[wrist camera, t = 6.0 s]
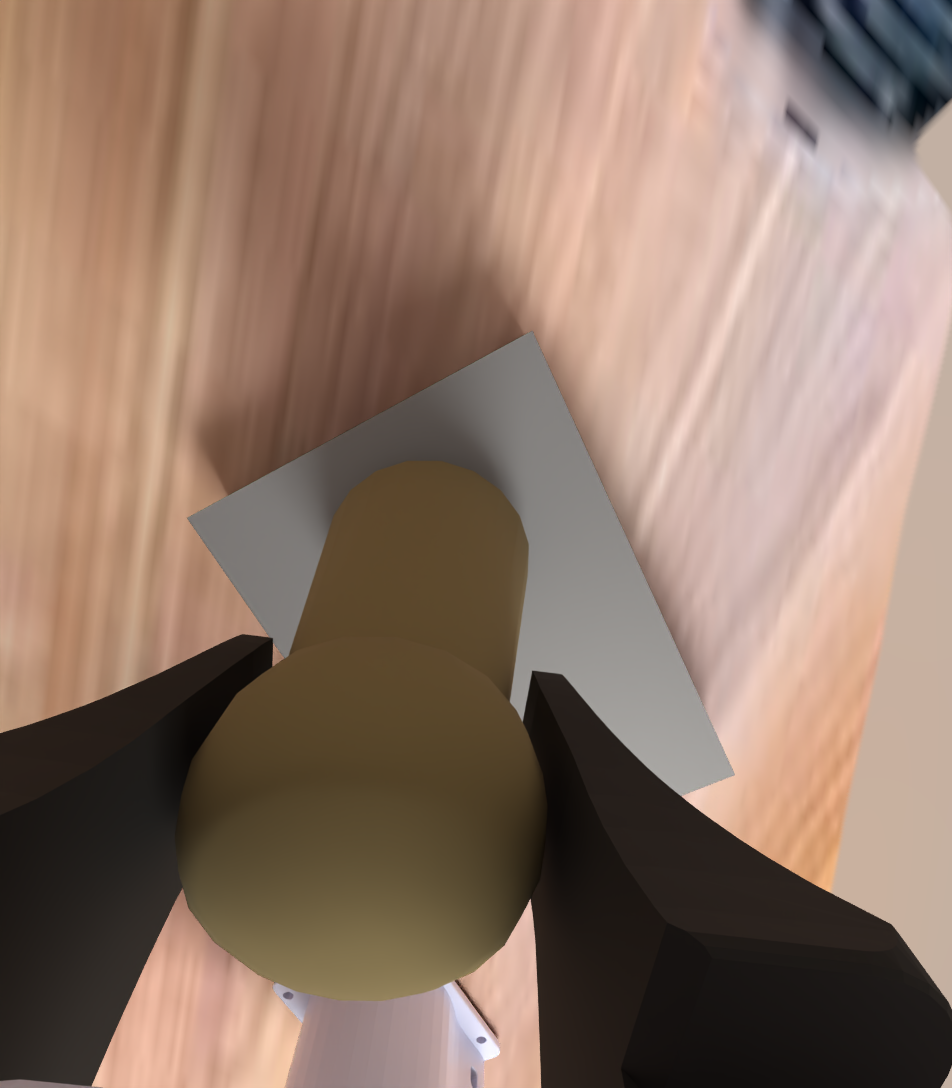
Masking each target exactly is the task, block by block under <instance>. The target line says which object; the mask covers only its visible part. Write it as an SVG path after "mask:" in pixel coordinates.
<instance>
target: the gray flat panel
mask: <svg viewBox="0 0 952 1088" xmlns="http://www.w3.org/2000/svg"><path fill="white" fill-rule="evenodd" d="M405 461H443V462H447V463H450V464H453V465H456V466H459V467H462V468H466V469H469V470H472V471H474V472H476V473H477V474H479V475H480V476H481V477H483V478H484V479H486V480H487V481H489V482H490V483H491V484H493V485H494V486H496V487H497V488H498V489H500V490H501V491H502V492H503V494H504V495H505V496H506V498H507V499H508V501H509V502H510V503H511V505H512V506H513V507H514V509H515V510H516V511H517V513H518V514H519V515H520V518H521V521H522V524H523V527H524V531H525V534H526V537H527V540H528V543H529V557H528V577H527V584H526V591H525V598H524V605H523V612H522V620H521V627H520V634H519V641H518V648H517V655H516V662H515V670H514V677H513V684H512V691H511V698H510V703H511V704H512V705H513V707H514V708H515V709H516V710H517V712H518V714H519V716H520V718H521V720H522V722H523V717H524V712H525V706H526V701H527V696H528V690H529V685H530V680H531V674H532V670H533V671H541V672H549V673H557V674H562V675H563V676H564V677H565V678H566V679H567V680H568V681H569V682H570V684H571V685H572V686H573V687H574V688H575V690H576V691H577V692H578V693H579V694H580V696H581V697H582V698H583V699H584V700H585V702H586V703H587V704H588V705H589V706H590V708H591V709H592V710H593V711H594V712H595V713H596V715H597V716H598V717H599V718H600V719H601V720H602V721H603V722H604V724H605V725H606V726H607V727H608V728H609V729H610V730H611V731H612V732H613V733H614V735H615V736H616V737H617V738H618V739H619V740H620V741H621V742H622V743H623V744H624V745H625V746H626V747H627V748H628V749H629V750H630V751H631V752H632V753H633V754H634V755H635V756H636V757H637V758H638V759H639V760H640V761H641V762H642V763H643V764H644V765H645V766H646V767H647V768H649V769H650V770H651V771H652V772H653V773H654V774H655V775H656V776H657V777H659V778H660V779H661V780H662V781H663V782H664V783H666V784H667V785H668V786H669V787H670V788H672V789H673V790H674V791H675V792H676V793H678V794H679V795H680V796H682V795H685V794H687V793H690V792H693V791H695V790H698V789H700V788H703V787H705V786H708V785H711V784H713V783H716V782H718V781H721V780H723V779H726V778H729V777H731V776H734V775H735V774H734V771H733V769H732V767H731V765H730V763H729V761H728V758H727V756H726V754H725V752H724V750H723V747H722V745H721V743H720V741H719V739H718V736H717V734H716V732H715V730H714V728H713V725H712V723H711V721H710V719H709V717H708V715H707V712H706V710H705V708H704V706H703V704H702V701H701V699H700V697H699V695H698V693H697V690H696V688H695V686H694V684H693V682H692V679H691V677H690V675H689V673H688V671H687V669H686V666H685V664H684V662H683V660H682V658H681V655H680V653H679V651H678V649H677V647H676V644H675V642H674V640H673V638H672V636H671V633H670V631H669V629H668V627H667V625H666V623H665V620H664V618H663V616H662V614H661V612H660V609H659V607H658V605H657V603H656V601H655V598H654V596H653V594H652V592H651V590H650V587H649V585H648V583H647V581H646V579H645V576H644V574H643V572H642V570H641V568H640V566H639V563H638V561H637V559H636V557H635V555H634V552H633V550H632V548H631V546H630V544H629V541H628V539H627V537H626V535H625V533H624V530H623V528H622V526H621V524H620V522H619V520H618V517H617V515H616V513H615V511H614V509H613V506H612V504H611V502H610V500H609V498H608V495H607V493H606V491H605V489H604V487H603V484H602V482H601V480H600V478H599V476H598V474H597V471H596V469H595V467H594V465H593V463H592V460H591V458H590V456H589V454H588V452H587V449H586V447H585V445H584V443H583V441H582V438H581V436H580V434H579V432H578V430H577V427H576V425H575V423H574V421H573V419H572V417H571V414H570V412H569V410H568V408H567V406H566V403H565V401H564V399H563V397H562V395H561V392H560V390H559V388H558V386H557V384H556V381H555V379H554V377H553V375H552V373H551V371H550V368H549V366H548V364H547V362H546V360H545V357H544V355H543V353H542V351H541V349H540V346H539V344H538V342H537V340H536V338H535V335H534V333H533V331H531V332H529V333H527V334H525V335H523V336H522V337H520V338H518V339H516V340H514V341H512V342H510V343H509V344H507V345H505V346H503V347H501V348H499V349H498V350H496V351H494V352H492V353H490V354H488V355H487V356H485V357H483V358H481V359H479V360H477V361H475V362H474V363H472V364H470V365H468V366H466V367H464V368H463V369H461V370H459V371H457V372H455V373H453V374H451V375H450V376H448V377H446V378H444V379H442V380H440V381H439V382H437V383H435V384H433V385H431V386H429V387H428V388H426V389H424V390H422V391H420V392H418V393H416V394H415V395H413V396H411V397H409V398H407V399H405V400H404V401H402V402H400V403H398V404H396V405H394V406H393V407H391V408H389V409H387V410H385V411H383V412H381V413H380V414H378V415H376V416H374V417H372V418H370V419H369V420H367V421H365V422H363V423H361V424H359V425H357V426H356V427H354V428H352V429H350V430H348V431H346V432H345V433H343V434H341V435H339V436H337V437H335V438H334V439H332V440H330V441H328V442H326V443H324V444H322V445H321V446H319V447H317V448H315V449H313V450H311V451H310V452H308V453H306V454H304V455H302V456H300V457H298V458H297V459H295V460H293V461H291V462H289V463H287V464H286V465H284V466H282V467H280V468H278V469H276V470H275V471H273V472H271V473H269V474H267V475H265V476H263V477H262V478H260V479H258V480H256V481H254V482H252V483H251V484H249V485H247V486H245V487H243V488H241V489H239V490H238V491H236V492H234V493H232V494H230V495H228V496H227V497H225V498H223V499H221V500H219V501H217V502H216V503H214V504H212V505H210V506H208V507H206V508H204V509H203V510H201V511H199V512H197V513H195V514H193V515H192V516H190V517H188V518H187V519H188V520H189V522H190V523H191V525H192V526H193V527H194V529H195V530H196V532H197V533H198V535H199V536H200V538H201V539H202V540H203V542H204V543H205V545H206V546H207V548H208V549H209V551H210V552H211V553H212V555H213V556H214V558H215V559H216V561H217V562H218V563H219V565H220V566H221V568H222V569H223V571H224V572H225V574H226V575H227V576H228V578H229V579H230V581H231V582H232V584H233V585H234V587H235V588H236V589H237V591H238V592H239V594H240V595H241V597H242V598H243V600H244V601H245V602H246V604H247V605H248V607H249V608H250V610H251V611H252V613H253V614H254V615H255V617H256V618H257V620H258V621H259V623H260V624H261V625H262V627H263V628H264V630H265V631H266V633H267V634H268V636H269V637H270V638H273V643H274V644H275V646H276V647H277V649H278V650H279V651H280V653H281V654H282V656H283V657H284V659H285V658H286V657H288V656H289V652H290V649H291V646H292V643H293V640H294V637H295V634H296V631H297V628H298V625H299V621H300V618H301V615H302V612H303V609H304V606H305V603H306V600H307V597H308V594H309V590H310V587H311V584H312V581H313V578H314V575H315V572H316V569H317V566H318V563H319V559H320V556H321V553H322V550H323V547H324V544H325V541H326V538H327V535H328V532H329V528H330V525H331V522H332V519H333V516H334V514H335V513H336V511H337V510H338V508H339V507H340V505H341V504H342V502H343V501H344V499H345V498H346V496H347V495H348V493H349V492H350V490H351V489H353V488H354V487H355V486H357V485H358V484H359V483H361V482H362V481H363V480H365V479H366V478H367V477H369V476H370V475H371V474H373V473H374V472H375V471H378V470H381V469H384V468H387V467H390V466H393V465H396V464H399V463H402V462H405Z"/></svg>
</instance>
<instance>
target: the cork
mask: <svg viewBox="0 0 952 1088" xmlns="http://www.w3.org/2000/svg"><path fill="white" fill-rule="evenodd" d="M528 557H529V543H528V540H527V537H526V534H525V531H524V527H523V524H522V521H521V518H520V515H519V514H518V513H517V511H516V510H515V509H514V507H513V506H512V505H511V503H510V502H509V501H508V499H507V498H506V496H505V495H504V494H503V492H502V491H501V490H500V489H498V488H497V487H496V486H494V485H493V484H491V483H490V482H489V481H487V480H486V479H484V478H483V477H481V476H480V475H479V474H477V473H476V472H474V471H472V470H469V469H466V468H462V467H459V466H456V465H453V464H450V463H447V462H443V461H405V462H402V463H399V464H396V465H393V466H390V467H387V468H384V469H381V470H378V471H375V472H374V473H373V474H371V475H370V476H369V477H367V478H366V479H365V480H363V481H362V482H361V483H359V484H358V485H357V486H355V487H354V488H353V489H351V490H350V492H349V493H348V495H347V496H346V498H345V499H344V501H343V502H342V504H341V505H340V507H339V508H338V510H337V511H336V513H335V514H334V516H333V519H332V522H331V525H330V528H329V532H328V535H327V538H326V541H325V544H324V547H323V550H322V553H321V556H320V559H319V563H318V566H317V569H316V572H315V575H314V578H313V581H312V584H311V587H310V590H309V594H308V597H307V600H306V603H305V606H304V609H303V612H302V615H301V618H300V621H299V625H298V628H297V631H296V634H295V637H294V640H293V643H292V646H291V649H290V652H289V656H288V657H286V658H285V659H283V660H282V661H280V662H279V663H278V664H276V665H275V666H273V667H272V668H270V669H269V670H267V671H266V672H264V673H263V674H261V675H260V676H259V677H257V678H256V679H255V680H254V681H252V682H251V683H250V684H248V685H247V686H246V687H245V688H243V689H242V690H241V691H239V692H238V693H237V694H236V695H235V697H234V698H233V700H232V701H231V703H230V704H229V706H228V707H227V709H226V710H225V712H224V713H223V714H222V716H221V717H220V719H219V720H218V722H217V723H216V725H215V726H214V728H213V729H212V731H211V732H210V734H209V735H208V736H207V738H206V739H205V741H204V742H203V744H202V745H201V747H200V748H199V750H198V751H197V753H196V754H195V756H194V757H193V759H192V760H191V764H190V767H189V771H188V774H187V777H186V781H185V784H184V787H183V791H182V794H181V800H180V806H179V812H178V818H177V824H176V831H175V845H176V855H177V864H178V872H179V876H180V879H181V883H182V886H183V890H184V893H185V897H186V900H187V904H188V907H189V909H190V911H191V912H192V913H193V915H194V916H195V917H196V919H197V920H198V921H199V923H200V924H201V925H202V927H203V928H204V929H205V931H206V932H207V933H208V935H209V936H210V937H211V939H212V940H213V941H214V942H215V943H216V944H218V945H219V946H220V947H222V948H223V949H224V950H226V951H227V952H228V953H230V954H231V955H232V956H234V957H235V958H236V959H238V960H239V961H240V962H242V963H243V964H244V965H246V966H247V967H248V968H250V969H251V970H252V971H254V972H255V973H256V974H258V975H260V976H262V977H264V978H267V979H269V980H271V981H273V982H276V983H278V984H280V985H283V986H285V987H287V988H290V989H292V990H294V991H296V992H301V993H306V994H310V995H315V996H320V997H325V998H329V999H334V1000H339V1001H385V1000H390V999H395V998H401V997H406V996H411V995H416V994H421V993H425V992H428V991H432V990H435V989H437V988H439V987H442V986H444V985H446V984H448V983H450V982H453V981H455V980H457V979H459V978H461V977H464V976H466V975H468V974H470V973H472V972H474V971H476V970H477V969H478V968H479V967H480V966H481V965H482V964H484V963H485V962H486V961H487V960H488V959H489V958H490V957H492V956H493V955H494V954H495V953H496V952H497V951H498V950H500V949H501V948H502V947H503V946H504V945H505V943H506V942H507V940H508V938H509V936H510V935H511V933H512V931H513V930H514V928H515V926H516V924H517V923H518V921H519V919H520V918H521V916H522V914H523V912H524V910H525V908H526V906H527V904H528V902H529V900H530V898H531V896H532V895H533V893H534V891H535V889H536V887H537V885H538V883H539V881H540V875H541V869H542V863H543V857H544V851H545V840H546V823H547V806H548V805H547V799H546V792H545V785H544V778H543V773H542V770H541V768H540V765H539V762H538V759H537V757H536V754H535V751H534V748H533V746H532V743H531V740H530V738H529V735H528V732H527V730H526V728H525V726H524V724H523V722H522V720H521V718H520V716H519V714H518V712H517V710H516V709H515V708H514V707H513V705H512V704H511V703H510V698H511V691H512V684H513V677H514V670H515V662H516V655H517V648H518V641H519V634H520V627H521V620H522V612H523V605H524V598H525V591H526V584H527V577H528Z"/></svg>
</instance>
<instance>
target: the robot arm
mask: <svg viewBox="0 0 952 1088" xmlns="http://www.w3.org/2000/svg"><path fill="white" fill-rule="evenodd" d="M272 660H273V638H268V637H260V636H252V635H244V634H242V635H239V636H237V637H234V638H232V639H229V640H227V641H225V642H223V643H221V644H219V645H217V646H215V647H213V648H211V649H208V650H206V651H204V652H202V653H200V654H198V655H196V656H194V657H192V658H190V659H188V660H186V661H184V662H182V663H180V664H178V665H176V666H174V667H172V668H170V669H168V670H166V671H163V672H161V673H159V674H157V675H155V676H153V677H150V678H148V679H146V680H144V681H141V682H139V683H137V684H134V685H132V686H130V687H128V688H125V689H123V690H121V691H119V692H116V693H114V694H112V695H109V696H107V697H105V698H102V699H100V700H97V701H95V702H92V703H90V704H87V705H84V706H82V707H79V708H76V709H74V710H71V711H68V712H65V713H62V714H60V715H57V716H54V717H51V718H48V719H45V720H42V721H39V722H36V723H33V724H30V725H27V726H24V727H20V728H17V729H13V730H10V731H6V732H3V733H0V1088H101V1087H91V1086H92V1083H93V1081H94V1079H95V1076H96V1074H97V1072H98V1070H99V1067H100V1065H101V1063H102V1060H103V1058H104V1056H105V1053H106V1051H107V1049H108V1046H109V1044H110V1042H111V1039H112V1037H113V1035H114V1032H115V1030H116V1028H117V1025H118V1023H119V1021H120V1019H121V1017H122V1014H123V1012H124V1010H125V1008H126V1006H127V1003H128V1001H129V999H130V997H131V995H132V992H133V990H134V988H135V986H136V984H137V981H138V979H139V977H140V975H141V973H142V970H143V968H144V966H145V964H146V962H147V959H148V957H149V955H150V953H151V951H152V949H153V947H154V945H155V943H156V940H157V938H158V936H159V934H160V932H161V930H162V928H163V926H164V924H165V922H166V919H167V917H168V915H169V913H170V911H171V909H172V907H173V905H174V903H175V901H176V899H177V897H178V895H179V893H180V891H181V890H182V888H183V886H182V883H181V879H180V876H179V872H178V864H177V855H176V845H175V831H176V824H177V818H178V812H179V806H180V800H181V794H182V791H183V787H184V784H185V781H186V777H187V774H188V771H189V767H190V764H191V760H192V759H193V757H194V756H195V754H196V753H197V751H198V750H199V748H200V747H201V745H202V744H203V742H204V741H205V739H206V738H207V736H208V735H209V734H210V732H211V731H212V729H213V728H214V726H215V725H216V723H217V722H218V720H219V719H220V717H221V716H222V714H223V713H224V712H225V710H226V709H227V707H228V706H229V704H230V703H231V701H232V700H233V698H234V697H235V695H236V694H237V693H238V692H239V691H241V690H242V689H243V688H245V687H246V686H247V685H248V684H250V683H251V682H252V681H254V680H255V679H256V678H257V677H259V676H260V675H261V674H263V673H264V672H266V671H267V670H269V669H270V668H272ZM523 724H524V726H525V728H526V730H527V732H528V735H529V738H530V740H531V743H532V746H533V748H534V751H535V754H536V757H537V759H538V762H539V765H540V768H541V770H542V773H543V778H544V785H545V792H546V799H547V805H548V806H547V823H546V840H545V851H544V857H543V863H542V869H541V875H540V881H539V883H538V885H537V887H536V889H535V891H534V893H533V895H532V896H531V905H532V912H533V921H534V931H535V942H536V962H537V984H538V1006H539V1033H540V1061H541V1088H941V1086H942V1084H943V1083H944V1081H945V1079H946V1078H947V1076H948V1074H949V1071H950V1069H951V1066H952V1009H951V1007H950V1005H949V1002H948V1001H947V999H946V998H945V997H944V995H943V994H942V993H941V991H940V990H939V988H938V987H937V986H936V984H935V983H934V982H933V980H932V979H931V977H930V976H929V975H928V973H927V972H926V971H925V969H924V968H923V966H922V965H921V964H920V962H919V961H918V960H917V958H916V957H915V955H914V954H913V953H912V951H911V950H910V949H909V947H908V946H907V944H906V943H905V942H904V940H903V939H902V938H901V936H900V935H899V933H898V932H897V931H896V930H895V928H894V927H893V926H892V925H891V924H890V923H888V922H886V921H884V920H882V919H880V918H878V917H876V916H874V915H872V914H870V913H868V912H866V911H864V910H862V909H860V908H858V907H857V906H855V905H853V904H851V903H849V902H847V901H845V900H843V899H841V898H839V897H837V896H835V895H833V894H831V893H829V892H827V891H825V890H824V889H822V888H820V887H818V886H816V885H814V884H812V883H810V882H809V881H807V880H805V879H803V878H802V877H800V876H798V875H797V874H795V873H793V872H792V871H790V870H788V869H786V868H785V867H783V866H781V865H780V864H778V863H776V862H775V861H773V860H771V859H770V858H768V857H766V856H765V855H763V854H762V853H760V852H758V851H757V850H755V849H754V848H752V847H751V846H749V845H747V844H746V843H744V842H743V841H741V840H740V839H738V838H737V837H735V836H734V835H733V834H731V833H730V832H728V831H727V830H725V829H724V828H723V827H721V826H720V825H718V824H717V823H716V822H714V821H713V820H711V819H710V818H708V817H707V816H706V815H704V814H703V813H702V812H700V811H699V810H698V809H696V808H695V807H694V806H692V805H691V804H690V803H689V802H687V801H686V800H685V799H684V798H682V797H681V796H680V795H679V794H678V793H676V792H675V791H674V790H673V789H672V788H670V787H669V786H668V785H667V784H666V783H664V782H663V781H662V780H661V779H660V778H659V777H657V776H656V775H655V774H654V773H653V772H652V771H651V770H650V769H649V768H647V767H646V766H645V765H644V764H643V763H642V762H641V761H640V760H639V759H638V758H637V757H636V756H635V755H634V754H633V753H632V752H631V751H630V750H629V749H628V748H627V747H626V746H625V745H624V744H623V743H622V742H621V741H620V740H619V739H618V738H617V737H616V736H615V735H614V733H613V732H612V731H611V730H610V729H609V728H608V727H607V726H606V725H605V724H604V722H603V721H602V720H601V719H600V718H599V717H598V716H597V715H596V713H595V712H594V711H593V710H592V709H591V708H590V706H589V705H588V704H587V703H586V702H585V700H584V699H583V698H582V697H581V696H580V694H579V693H578V692H577V691H576V690H575V688H574V687H573V686H572V685H571V684H570V682H569V681H568V680H567V679H566V678H565V677H564V676H563V675H562V674H557V673H549V672H541V671H533V670H532V674H531V680H530V685H529V690H528V696H527V701H526V706H525V712H524V717H523ZM273 990H274V992H275V993H276V994H277V995H278V996H279V997H280V999H281V1000H282V1001H283V1002H284V1003H285V1004H286V1005H287V1007H288V1008H289V1009H290V1010H291V1011H292V1012H293V1013H294V1015H295V1016H296V1017H297V1018H298V1019H299V1020H300V1021H301V1023H302V1026H301V1030H300V1034H299V1037H298V1041H297V1045H296V1048H295V1052H294V1056H293V1059H292V1063H291V1067H290V1070H289V1074H288V1078H287V1081H286V1085H285V1088H484V1061H485V1060H488V1059H491V1058H494V1057H496V1056H498V1054H499V1053H500V1043H499V1041H498V1039H497V1038H496V1037H495V1035H494V1034H493V1033H492V1031H491V1030H490V1029H489V1027H488V1026H487V1024H486V1023H485V1022H484V1020H483V1019H482V1018H481V1016H480V1015H479V1013H478V1012H477V1011H476V1009H475V1008H474V1007H473V1005H472V1004H471V1003H470V1001H469V1000H468V998H467V997H466V996H465V994H464V993H463V992H462V990H461V989H460V988H459V986H458V985H457V983H456V982H455V981H453V982H450V983H448V984H446V985H444V986H442V987H439V988H437V989H435V990H432V991H428V992H425V993H421V994H416V995H411V996H406V997H401V998H395V999H390V1000H385V1001H339V1000H334V999H329V998H325V997H320V996H315V995H310V994H306V993H301V992H296V991H294V990H292V989H290V988H287V987H285V986H283V985H280V984H278V983H276V982H274V984H273Z"/></svg>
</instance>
